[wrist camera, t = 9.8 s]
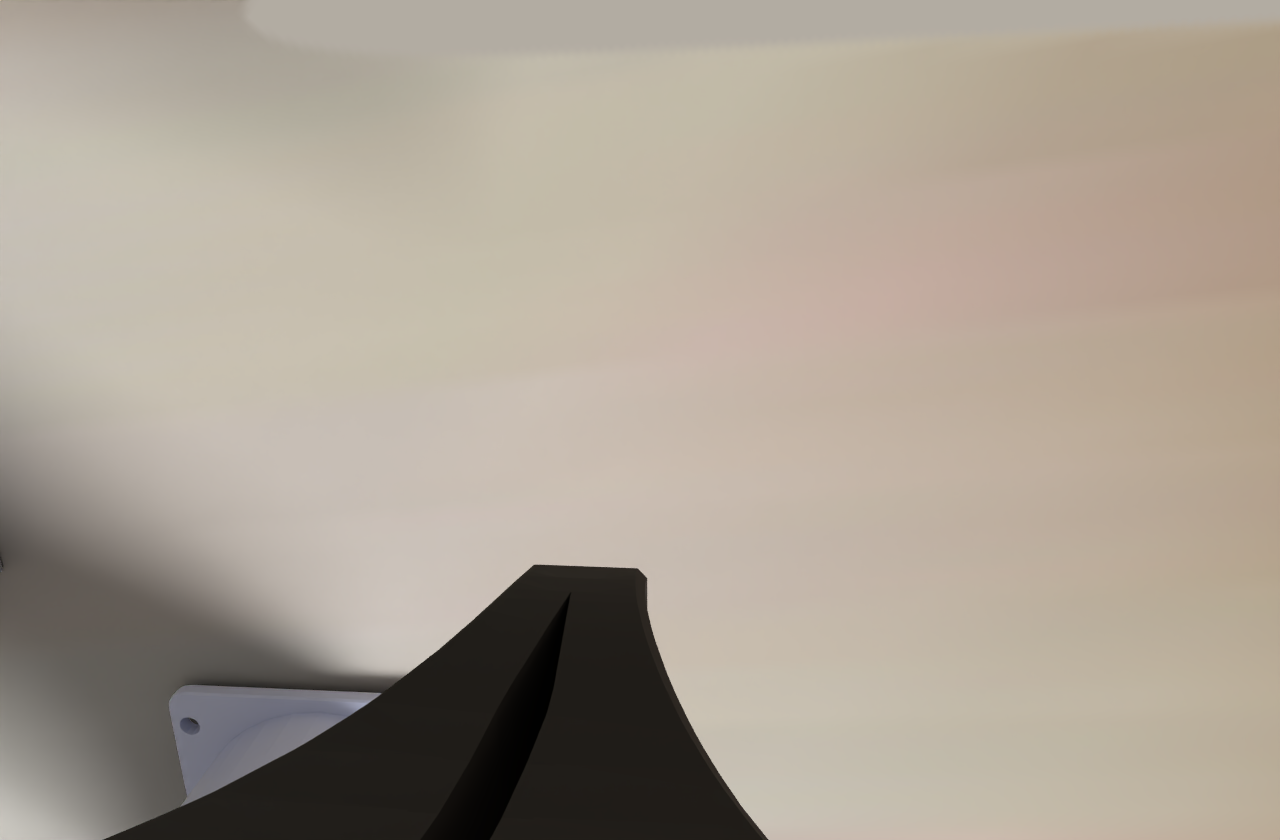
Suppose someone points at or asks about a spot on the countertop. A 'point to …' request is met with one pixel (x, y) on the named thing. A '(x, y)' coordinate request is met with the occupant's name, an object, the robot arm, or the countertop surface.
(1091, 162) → the countertop surface
